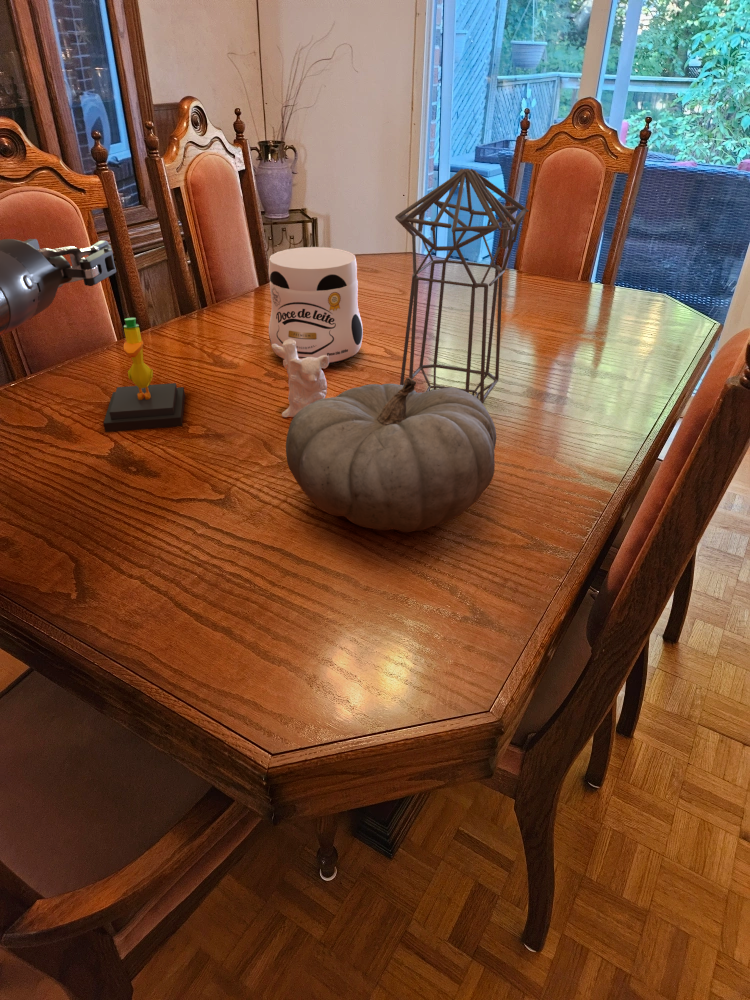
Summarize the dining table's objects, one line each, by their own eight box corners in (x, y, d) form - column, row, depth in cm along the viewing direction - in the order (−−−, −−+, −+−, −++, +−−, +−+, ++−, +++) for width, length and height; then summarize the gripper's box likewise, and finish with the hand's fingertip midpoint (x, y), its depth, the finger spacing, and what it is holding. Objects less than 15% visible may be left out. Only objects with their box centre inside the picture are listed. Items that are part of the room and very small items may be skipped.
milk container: (287, 380, 116) (279, 275, 106) (259, 346, 129) (250, 250, 119) (377, 365, 122) (378, 264, 112) (342, 334, 135) (340, 242, 125)
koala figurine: (272, 422, 103) (266, 348, 96) (282, 403, 108) (277, 332, 102) (326, 425, 102) (323, 351, 95) (333, 406, 107) (331, 334, 101)
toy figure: (153, 406, 99) (138, 327, 92) (128, 407, 98) (111, 329, 92) (158, 387, 104) (144, 312, 98) (135, 389, 104) (119, 313, 97)
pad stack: (106, 437, 98) (101, 415, 96) (116, 405, 107) (111, 385, 105) (183, 431, 100) (179, 409, 98) (186, 400, 109) (182, 380, 107)
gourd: (496, 565, 70) (485, 409, 62) (275, 568, 76) (241, 426, 68) (502, 467, 92) (494, 342, 84) (329, 475, 98) (308, 359, 90)
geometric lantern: (385, 423, 103) (390, 173, 83) (418, 384, 115) (428, 158, 95) (485, 442, 98) (515, 181, 78) (508, 399, 110) (538, 165, 91)
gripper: (-58, 323, 68) (22, 279, 81) (78, 328, 67) (136, 282, 80) (-86, 247, 64) (4, 213, 77) (58, 250, 63) (124, 216, 76)
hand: (71, 248), depth 79 cm, fingers open, 8 cm apart
